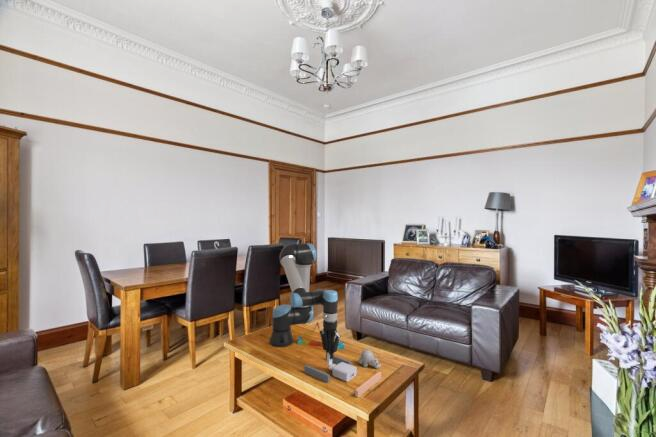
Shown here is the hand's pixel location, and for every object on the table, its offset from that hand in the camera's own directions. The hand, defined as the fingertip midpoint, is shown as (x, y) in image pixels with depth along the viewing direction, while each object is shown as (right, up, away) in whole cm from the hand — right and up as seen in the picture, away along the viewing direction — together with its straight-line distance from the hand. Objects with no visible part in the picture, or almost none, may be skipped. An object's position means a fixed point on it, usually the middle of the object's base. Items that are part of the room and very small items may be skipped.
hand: (329, 364), depth 164 cm
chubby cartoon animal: (+22, -4, +5) cm, 23 cm away
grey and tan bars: (+6, -4, -5) cm, 9 cm away
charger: (+5, -4, -3) cm, 7 cm away
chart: (-5, -4, +32) cm, 33 cm away
